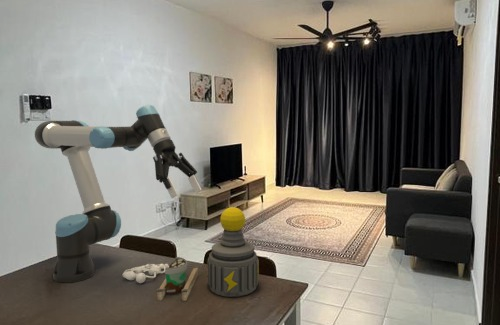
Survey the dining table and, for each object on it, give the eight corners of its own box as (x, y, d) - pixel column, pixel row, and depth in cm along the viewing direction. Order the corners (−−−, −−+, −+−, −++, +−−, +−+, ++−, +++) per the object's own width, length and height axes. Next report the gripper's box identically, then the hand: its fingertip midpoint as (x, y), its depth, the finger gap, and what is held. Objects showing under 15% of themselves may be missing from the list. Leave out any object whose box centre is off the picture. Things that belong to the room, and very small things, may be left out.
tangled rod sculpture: (152, 266, 167) (151, 256, 167) (177, 270, 160) (177, 260, 160) (116, 280, 151) (115, 270, 150) (143, 285, 143) (142, 274, 143)
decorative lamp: (203, 298, 134) (202, 213, 131) (211, 276, 153) (210, 201, 150) (258, 298, 134) (258, 213, 130) (258, 277, 152) (258, 202, 149)
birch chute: (156, 300, 132) (156, 290, 132) (172, 274, 154) (172, 266, 154) (186, 300, 132) (186, 290, 132) (198, 275, 154) (197, 266, 153)
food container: (182, 297, 135) (181, 269, 134) (165, 296, 136) (164, 268, 135) (192, 282, 147) (191, 257, 146) (176, 281, 148) (176, 256, 147)
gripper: (143, 137, 129) (171, 193, 125) (189, 138, 151) (214, 185, 147) (130, 149, 133) (156, 203, 128) (177, 148, 154) (200, 194, 150)
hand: (187, 194), depth 137 cm, fingers open, 13 cm apart
